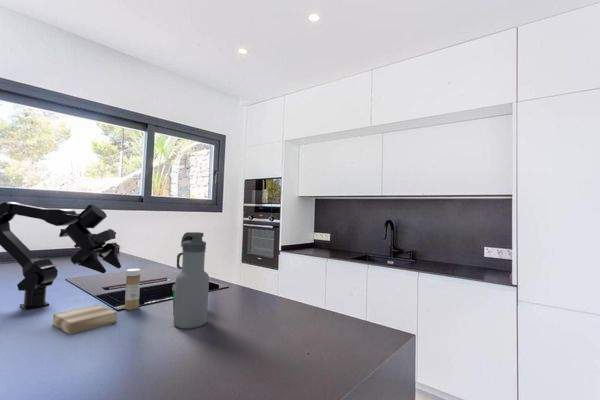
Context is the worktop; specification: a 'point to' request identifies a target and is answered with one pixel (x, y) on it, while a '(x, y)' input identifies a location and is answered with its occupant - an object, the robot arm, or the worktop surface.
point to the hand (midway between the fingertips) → (112, 269)
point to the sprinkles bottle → (132, 289)
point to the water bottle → (191, 283)
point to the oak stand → (84, 319)
